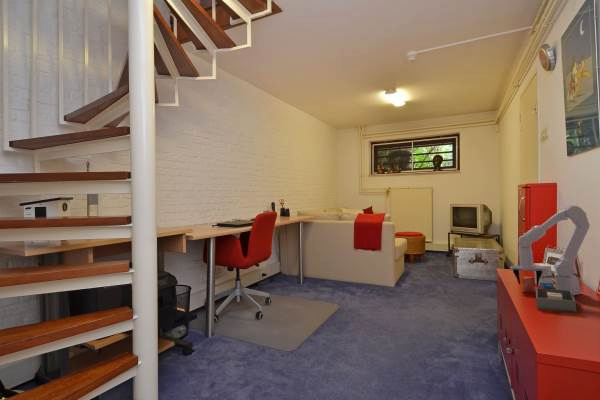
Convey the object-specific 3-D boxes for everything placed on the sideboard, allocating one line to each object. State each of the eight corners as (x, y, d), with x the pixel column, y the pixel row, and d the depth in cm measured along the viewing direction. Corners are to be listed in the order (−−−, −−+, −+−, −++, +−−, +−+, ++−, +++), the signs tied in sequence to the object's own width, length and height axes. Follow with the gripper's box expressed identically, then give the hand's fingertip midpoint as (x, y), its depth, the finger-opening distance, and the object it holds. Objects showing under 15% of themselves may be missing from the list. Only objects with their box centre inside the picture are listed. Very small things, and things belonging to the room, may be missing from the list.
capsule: (528, 289, 168) (527, 276, 168) (537, 291, 163) (536, 278, 163) (521, 290, 167) (519, 277, 167) (529, 292, 162) (528, 279, 162)
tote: (536, 298, 153) (535, 287, 153) (572, 301, 145) (571, 290, 145) (537, 309, 139) (536, 297, 139) (576, 313, 131) (575, 301, 132)
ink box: (553, 288, 166) (551, 265, 167) (543, 288, 167) (541, 266, 168) (544, 283, 175) (542, 262, 175) (534, 284, 176) (532, 263, 176)
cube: (548, 303, 143) (547, 292, 143) (562, 304, 140) (561, 293, 140) (548, 306, 139) (547, 295, 139) (563, 308, 136) (562, 296, 136)
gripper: (509, 259, 166) (511, 285, 166) (543, 260, 158) (546, 287, 158) (510, 257, 172) (512, 281, 172) (543, 258, 163) (545, 284, 163)
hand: (528, 284), depth 165 cm, fingers open, 7 cm apart
